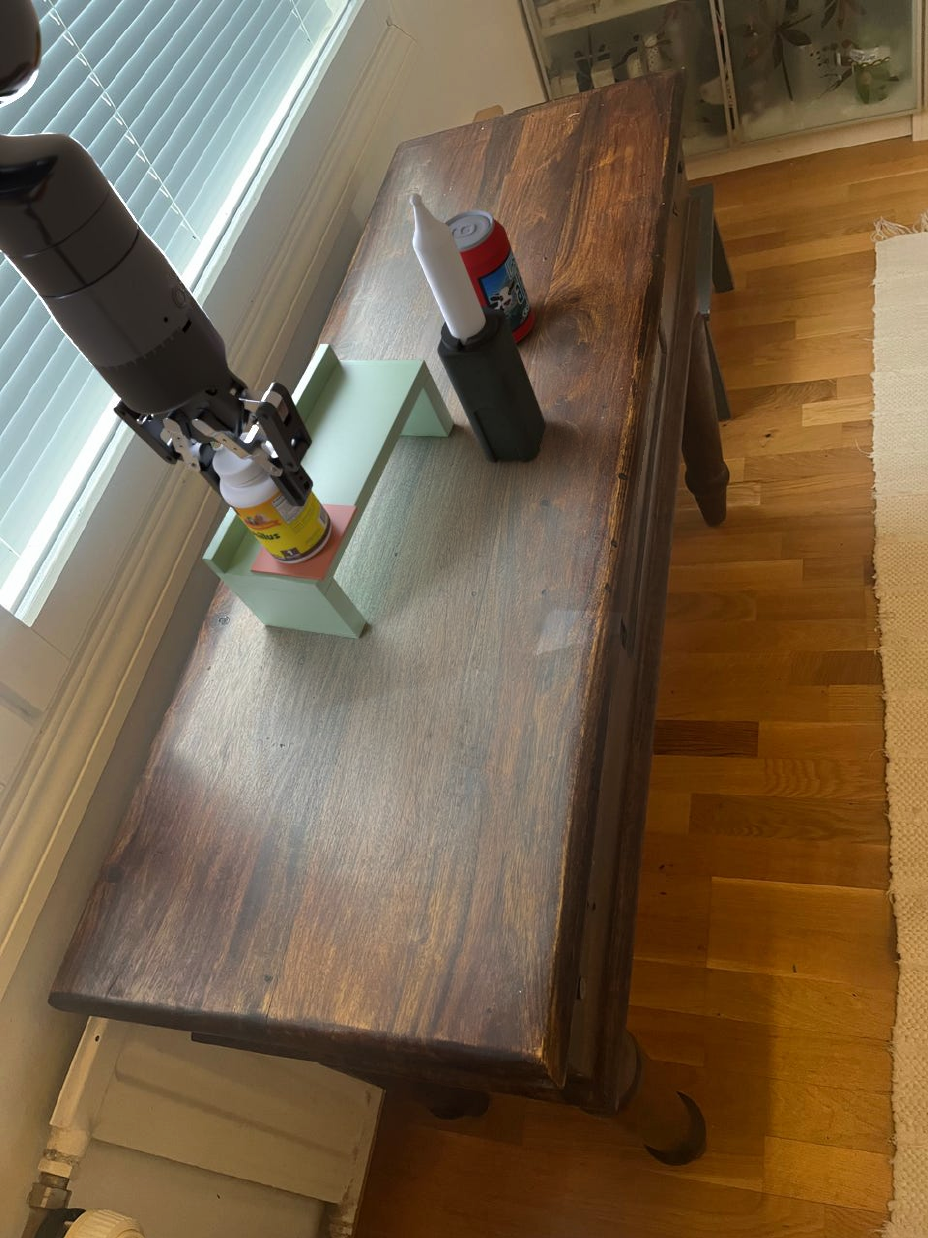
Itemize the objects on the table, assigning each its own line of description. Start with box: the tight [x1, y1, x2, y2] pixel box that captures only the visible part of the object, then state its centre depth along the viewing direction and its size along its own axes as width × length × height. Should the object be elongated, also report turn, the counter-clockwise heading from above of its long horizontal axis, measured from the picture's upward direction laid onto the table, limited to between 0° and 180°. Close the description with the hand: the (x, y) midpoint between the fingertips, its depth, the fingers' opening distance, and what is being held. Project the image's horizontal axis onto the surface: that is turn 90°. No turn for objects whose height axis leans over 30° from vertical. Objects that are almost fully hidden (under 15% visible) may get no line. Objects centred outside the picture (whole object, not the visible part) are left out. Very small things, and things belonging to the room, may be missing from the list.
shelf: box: [201, 343, 455, 639], centre depth 81 cm, size 24×10×10 cm, turn 160°
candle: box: [409, 192, 547, 464], centre depth 74 cm, size 5×5×25 cm
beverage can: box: [443, 209, 535, 344], centre depth 88 cm, size 7×7×12 cm
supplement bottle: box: [213, 432, 332, 563], centre depth 70 cm, size 6×6×10 cm
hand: (269, 494), depth 69 cm, fingers open, 6 cm apart
